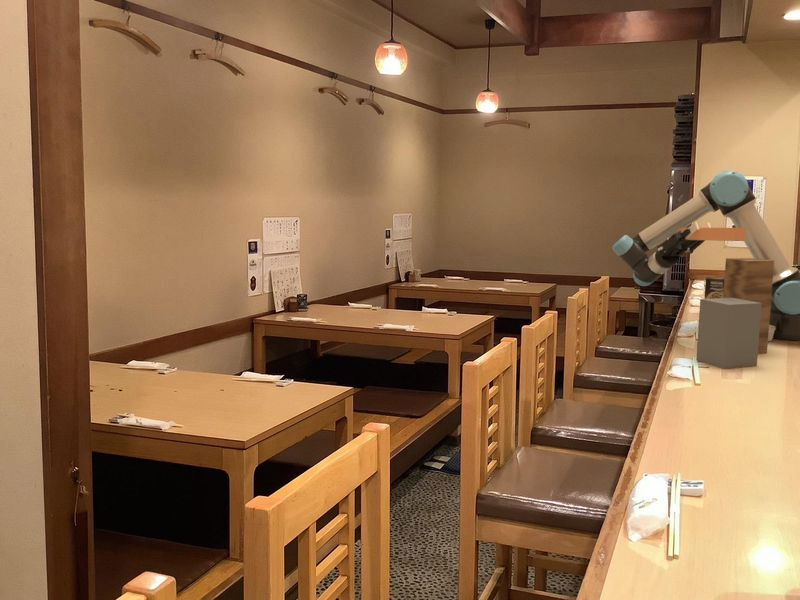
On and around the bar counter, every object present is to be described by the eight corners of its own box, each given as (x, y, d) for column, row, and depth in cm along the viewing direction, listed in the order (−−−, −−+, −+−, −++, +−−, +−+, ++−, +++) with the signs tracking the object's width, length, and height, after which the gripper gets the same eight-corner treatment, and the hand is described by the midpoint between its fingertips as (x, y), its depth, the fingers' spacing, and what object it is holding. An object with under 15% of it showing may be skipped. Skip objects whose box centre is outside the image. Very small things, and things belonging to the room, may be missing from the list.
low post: (756, 366, 230) (761, 303, 227) (724, 368, 226) (728, 304, 223) (727, 357, 241) (732, 297, 239) (696, 360, 237) (700, 299, 235)
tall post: (766, 353, 249) (774, 260, 244) (741, 355, 245) (748, 261, 241) (743, 347, 258) (750, 257, 254) (719, 348, 255) (725, 258, 250)
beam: (745, 241, 234) (746, 227, 234) (734, 241, 233) (735, 227, 233) (690, 239, 259) (691, 227, 259) (680, 239, 258) (681, 227, 258)
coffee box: (702, 316, 320) (705, 278, 317) (704, 314, 325) (706, 276, 323) (726, 318, 315) (729, 279, 313) (727, 316, 321) (730, 278, 319)
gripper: (687, 268, 271) (728, 235, 251) (645, 268, 266) (684, 235, 246) (681, 249, 274) (722, 215, 254) (639, 249, 269) (677, 215, 249)
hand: (703, 225), depth 250 cm, fingers closed on beam, 4 cm apart
